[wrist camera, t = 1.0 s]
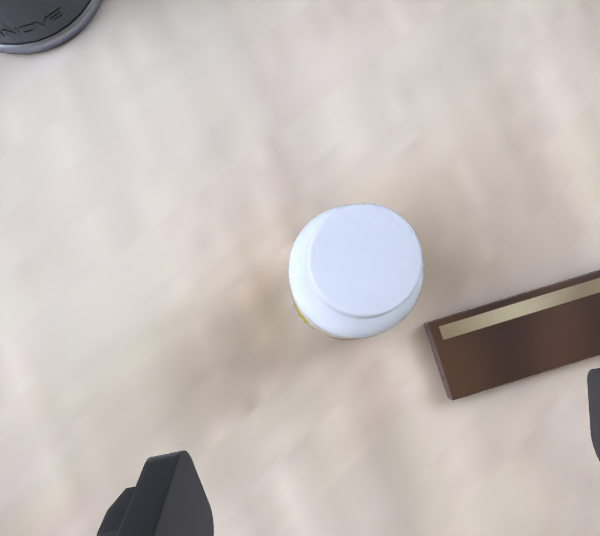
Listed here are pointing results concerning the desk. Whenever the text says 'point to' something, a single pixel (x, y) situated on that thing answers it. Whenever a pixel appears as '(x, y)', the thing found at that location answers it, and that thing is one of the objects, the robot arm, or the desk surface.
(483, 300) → the desk surface
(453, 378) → the dark brown flat bar
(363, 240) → the supplement bottle
